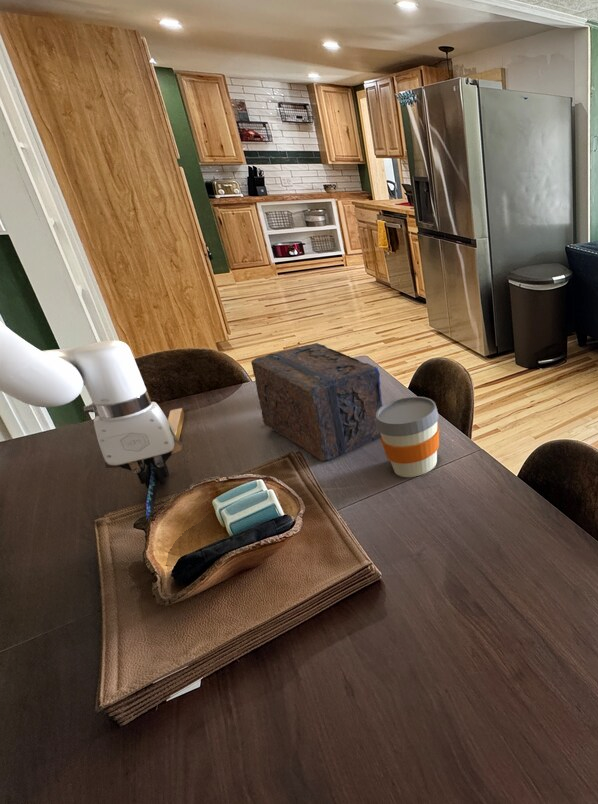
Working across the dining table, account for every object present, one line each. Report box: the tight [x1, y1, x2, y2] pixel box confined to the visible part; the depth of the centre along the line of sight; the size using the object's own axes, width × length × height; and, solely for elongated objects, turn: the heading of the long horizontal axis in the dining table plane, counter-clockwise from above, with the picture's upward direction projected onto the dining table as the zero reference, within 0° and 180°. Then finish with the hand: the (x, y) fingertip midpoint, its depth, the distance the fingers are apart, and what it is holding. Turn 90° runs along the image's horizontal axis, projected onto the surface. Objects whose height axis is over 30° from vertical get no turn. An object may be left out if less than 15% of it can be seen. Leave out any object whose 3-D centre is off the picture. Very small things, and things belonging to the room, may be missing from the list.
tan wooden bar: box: [167, 407, 185, 441], centre depth 119 cm, size 2×18×2 cm, turn 35°
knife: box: [142, 457, 170, 519], centre depth 97 cm, size 31×3×4 cm, turn 33°
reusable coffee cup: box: [376, 396, 440, 478], centre depth 104 cm, size 13×13×15 cm
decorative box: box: [250, 342, 383, 462], centre depth 117 cm, size 31×20×20 cm
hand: (157, 482), depth 98 cm, fingers closed on knife, 1 cm apart
